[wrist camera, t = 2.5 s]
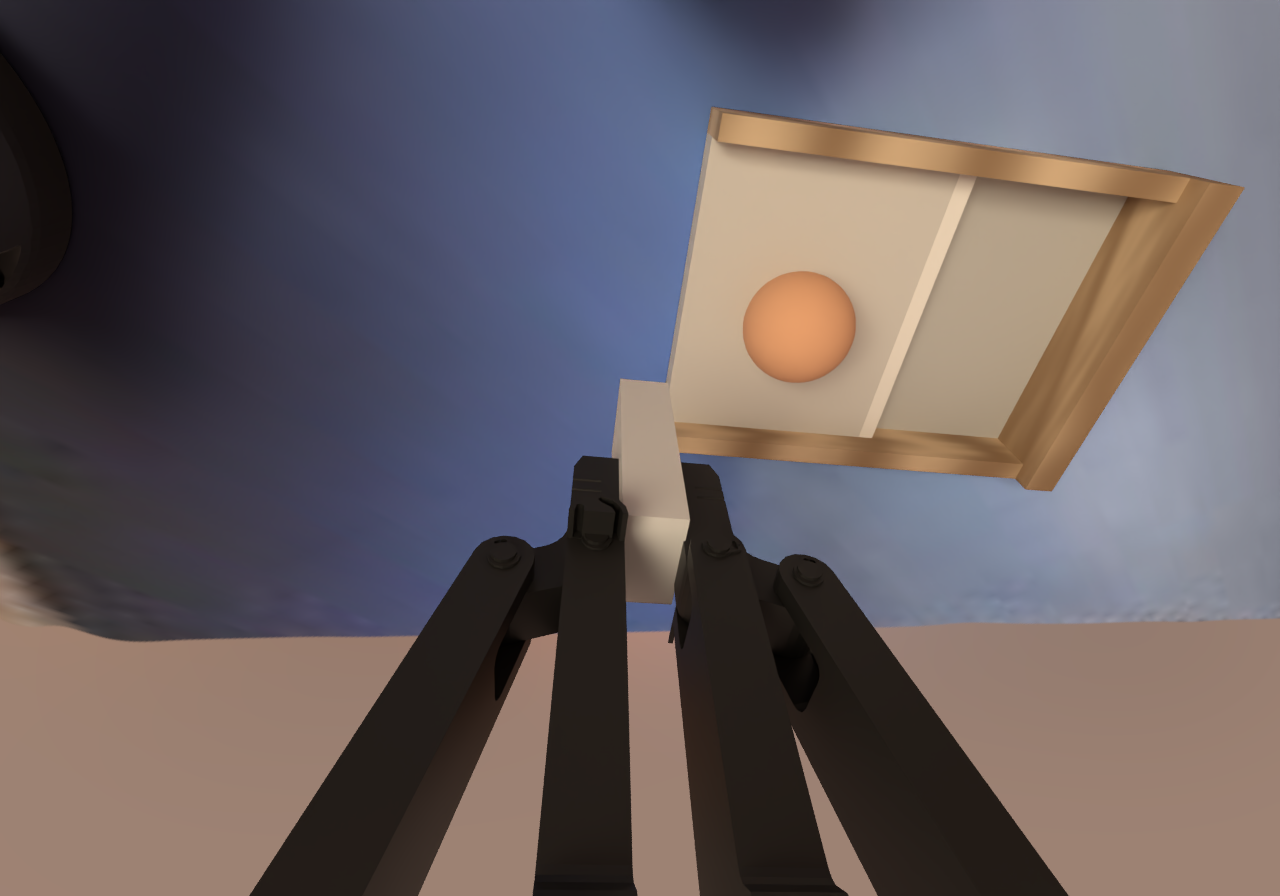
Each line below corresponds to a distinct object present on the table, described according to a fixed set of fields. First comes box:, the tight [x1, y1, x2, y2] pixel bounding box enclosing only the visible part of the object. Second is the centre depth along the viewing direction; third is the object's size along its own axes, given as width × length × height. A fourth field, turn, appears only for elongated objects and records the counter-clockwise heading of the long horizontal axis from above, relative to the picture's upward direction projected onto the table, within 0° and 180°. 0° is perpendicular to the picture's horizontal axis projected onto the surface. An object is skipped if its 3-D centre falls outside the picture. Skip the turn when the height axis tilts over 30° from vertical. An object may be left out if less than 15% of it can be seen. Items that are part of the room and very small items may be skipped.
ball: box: [743, 271, 856, 383], centre depth 27 cm, size 5×5×5 cm
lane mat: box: [666, 133, 1128, 438], centre depth 31 cm, size 20×14×2 cm
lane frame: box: [674, 107, 1245, 491], centre depth 30 cm, size 22×16×4 cm
